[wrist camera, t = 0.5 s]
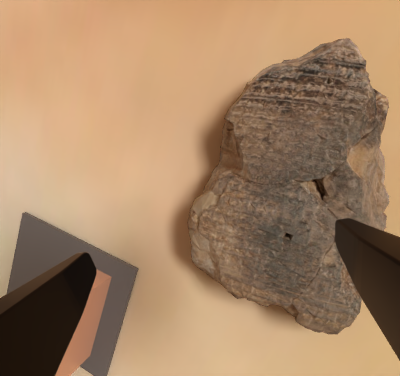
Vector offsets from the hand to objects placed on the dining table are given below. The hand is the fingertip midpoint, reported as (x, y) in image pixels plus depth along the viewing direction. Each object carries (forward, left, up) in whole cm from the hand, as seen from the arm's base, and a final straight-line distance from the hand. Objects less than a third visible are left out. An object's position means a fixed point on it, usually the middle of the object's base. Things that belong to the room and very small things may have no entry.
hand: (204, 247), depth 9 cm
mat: (+9, +22, -13) cm, 27 cm away
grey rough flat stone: (-2, -4, -14) cm, 14 cm away
